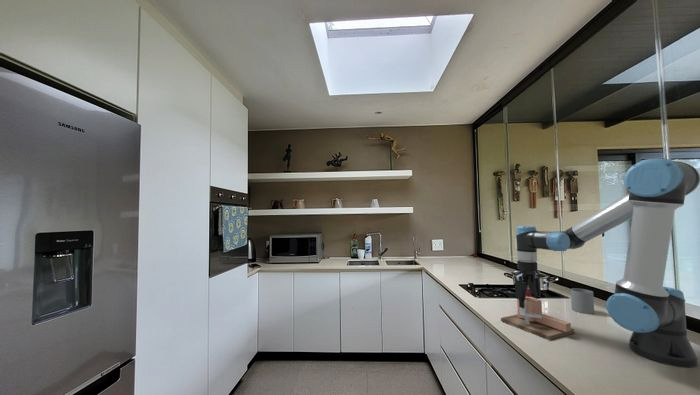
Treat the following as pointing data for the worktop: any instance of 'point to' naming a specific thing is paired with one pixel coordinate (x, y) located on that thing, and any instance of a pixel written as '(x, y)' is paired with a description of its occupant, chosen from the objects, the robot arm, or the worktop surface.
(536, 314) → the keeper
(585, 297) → the cup
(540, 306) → the link
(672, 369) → the worktop surface
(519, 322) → the board
